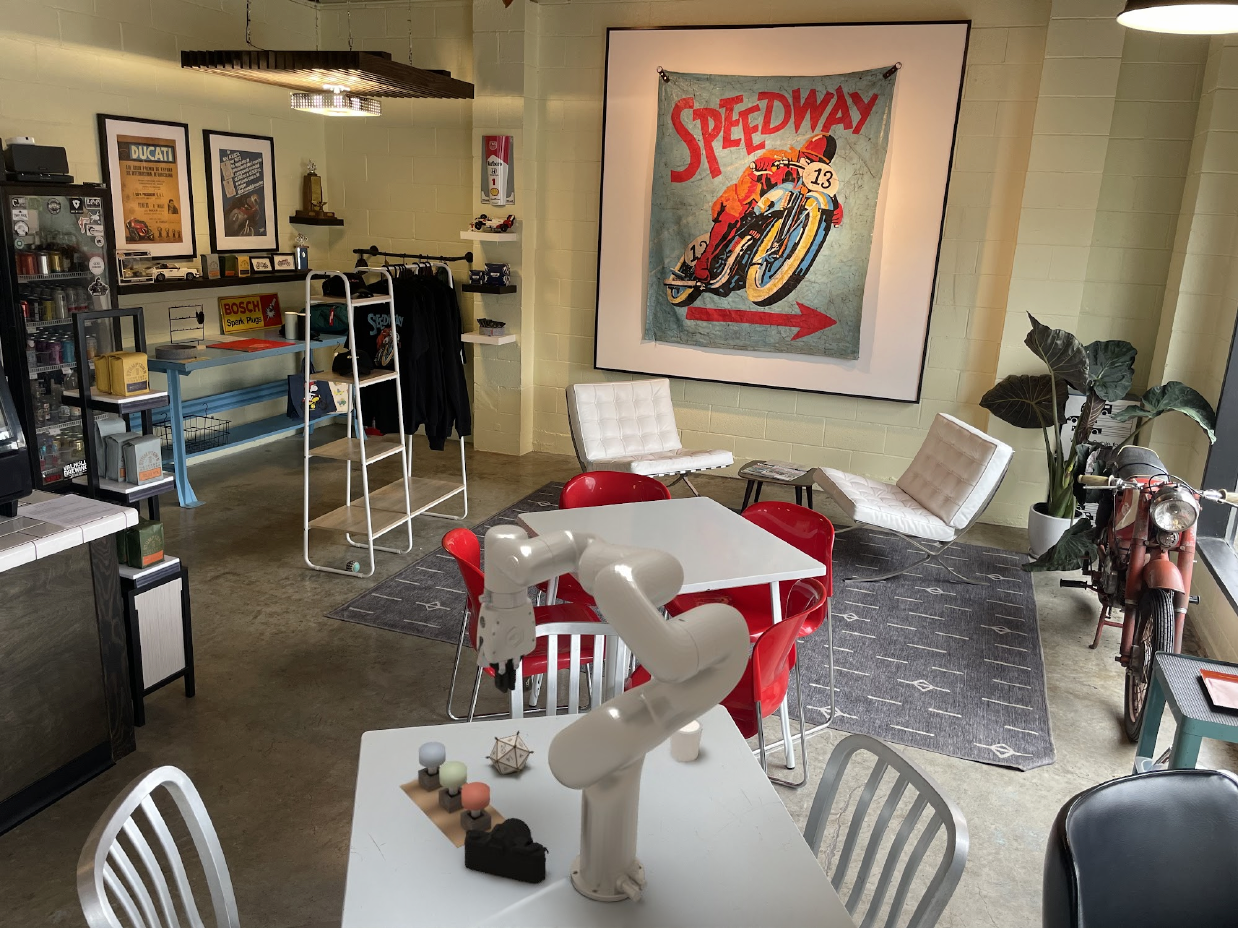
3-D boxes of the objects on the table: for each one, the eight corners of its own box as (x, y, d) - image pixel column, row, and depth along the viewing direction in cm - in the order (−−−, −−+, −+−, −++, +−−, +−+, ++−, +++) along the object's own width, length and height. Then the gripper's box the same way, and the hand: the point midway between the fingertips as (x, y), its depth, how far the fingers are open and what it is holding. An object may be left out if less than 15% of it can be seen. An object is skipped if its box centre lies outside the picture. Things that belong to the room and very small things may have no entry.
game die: (516, 792, 186) (529, 773, 179) (477, 777, 185) (488, 757, 178) (529, 751, 192) (542, 732, 185) (491, 736, 192) (502, 716, 184)
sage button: (472, 794, 173) (472, 770, 171) (448, 803, 170) (447, 780, 168) (458, 781, 176) (458, 757, 175) (434, 790, 173) (434, 767, 172)
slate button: (450, 773, 179) (450, 750, 177) (427, 782, 176) (426, 759, 174) (437, 761, 182) (437, 738, 181) (414, 770, 179) (414, 747, 178)
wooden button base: (510, 829, 169) (510, 811, 168) (457, 853, 163) (457, 834, 162) (450, 771, 186) (449, 754, 185) (399, 791, 179) (399, 774, 178)
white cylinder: (664, 759, 193) (666, 729, 191) (672, 742, 199) (674, 713, 197) (696, 766, 191) (698, 736, 189) (703, 748, 197) (705, 719, 195)
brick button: (495, 816, 167) (495, 791, 166) (470, 826, 164) (470, 802, 162) (480, 802, 171) (480, 778, 169) (456, 812, 167) (456, 788, 166)
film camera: (559, 857, 163) (561, 813, 160) (540, 894, 154) (541, 848, 151) (480, 838, 167) (479, 795, 164) (456, 874, 158) (456, 829, 155)
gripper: (479, 612, 156) (479, 710, 161) (553, 592, 166) (551, 684, 171) (456, 597, 162) (457, 692, 167) (530, 578, 171) (528, 668, 176)
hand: (505, 688), depth 169 cm, fingers closed
